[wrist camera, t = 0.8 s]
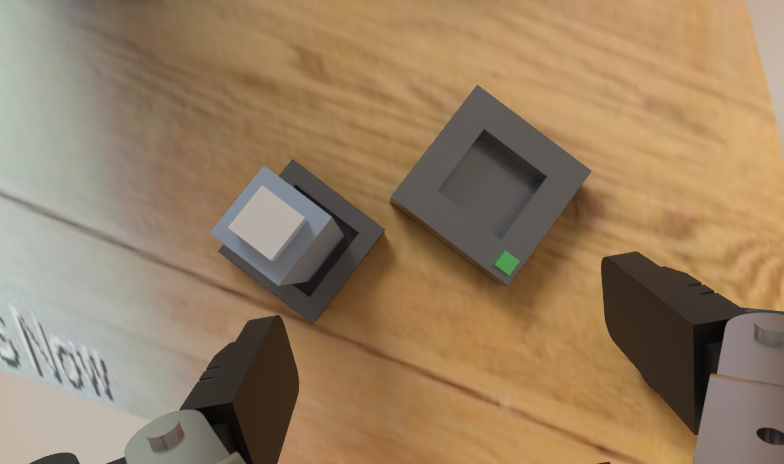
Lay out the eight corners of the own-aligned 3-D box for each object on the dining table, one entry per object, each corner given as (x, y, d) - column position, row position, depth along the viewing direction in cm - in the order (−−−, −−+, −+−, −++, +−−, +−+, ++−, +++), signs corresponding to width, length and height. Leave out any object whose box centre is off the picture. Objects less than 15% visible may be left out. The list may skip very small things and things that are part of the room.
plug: (265, 247, 34) (201, 231, 21) (300, 202, 34) (259, 160, 22) (310, 281, 34) (273, 286, 21) (344, 236, 34) (330, 214, 22)
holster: (226, 252, 34) (218, 251, 32) (296, 165, 35) (292, 159, 33) (315, 320, 34) (312, 323, 32) (383, 232, 35) (384, 229, 33)
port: (389, 202, 35) (391, 195, 32) (469, 97, 36) (479, 81, 33) (498, 284, 35) (511, 286, 32) (576, 177, 36) (595, 169, 33)
